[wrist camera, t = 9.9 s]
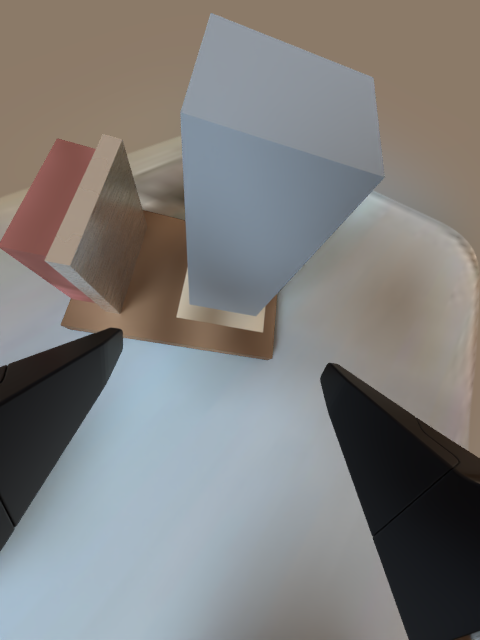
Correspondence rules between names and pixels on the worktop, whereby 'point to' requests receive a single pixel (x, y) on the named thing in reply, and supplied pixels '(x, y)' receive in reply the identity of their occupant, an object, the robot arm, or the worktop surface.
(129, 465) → the worktop surface
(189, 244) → the tall blue-gray box
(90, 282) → the shelf board
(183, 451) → the worktop surface
